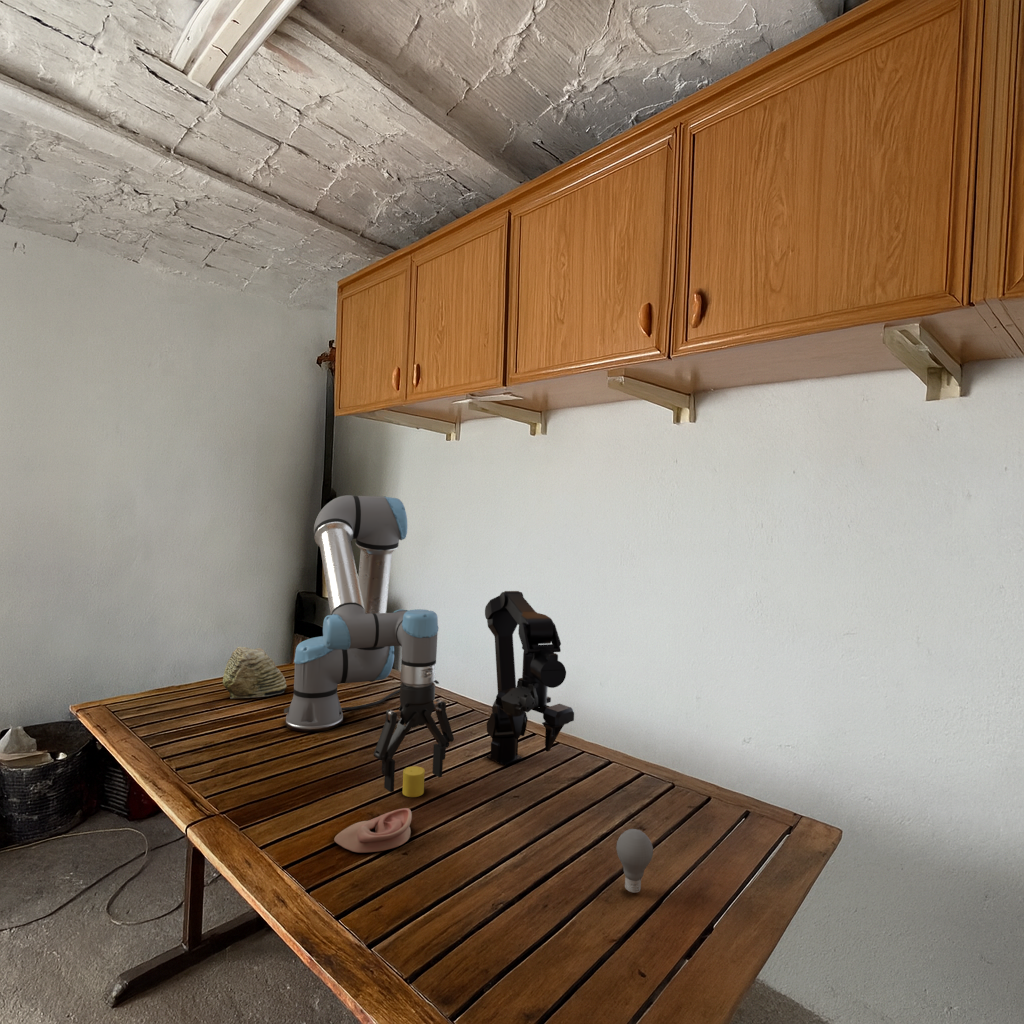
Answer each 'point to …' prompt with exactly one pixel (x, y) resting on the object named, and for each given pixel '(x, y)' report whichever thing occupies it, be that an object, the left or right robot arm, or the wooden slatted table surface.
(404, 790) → the canister
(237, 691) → the fossil
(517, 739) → the right robot arm
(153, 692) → the wooden slatted table surface
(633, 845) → the light bulb
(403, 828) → the anatomical model
